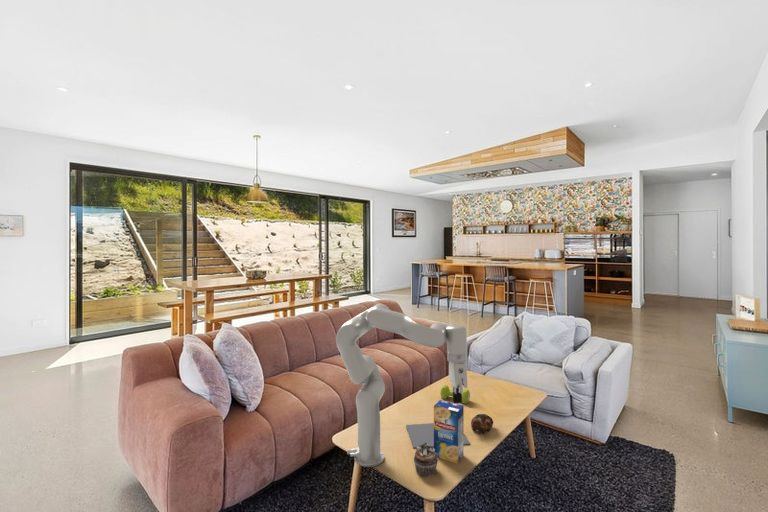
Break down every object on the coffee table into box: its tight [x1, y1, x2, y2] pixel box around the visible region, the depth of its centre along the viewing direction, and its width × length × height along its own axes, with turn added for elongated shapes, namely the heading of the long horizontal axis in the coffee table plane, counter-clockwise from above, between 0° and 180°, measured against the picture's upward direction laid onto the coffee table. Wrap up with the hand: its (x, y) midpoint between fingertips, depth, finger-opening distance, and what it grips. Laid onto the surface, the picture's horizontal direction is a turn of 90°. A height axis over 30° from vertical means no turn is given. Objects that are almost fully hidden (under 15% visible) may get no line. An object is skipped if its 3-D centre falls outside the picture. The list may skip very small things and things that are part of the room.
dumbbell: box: [439, 384, 471, 405], centre depth 215 cm, size 16×8×7 cm, turn 59°
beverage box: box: [433, 399, 465, 465], centre depth 160 cm, size 7×11×22 cm, turn 59°
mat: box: [405, 422, 471, 450], centre depth 177 cm, size 26×20×1 cm
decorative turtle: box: [470, 413, 494, 436], centre depth 181 cm, size 10×15×8 cm, turn 139°
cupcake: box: [413, 443, 439, 478], centre depth 150 cm, size 10×10×10 cm
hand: (457, 402), depth 148 cm, fingers closed
